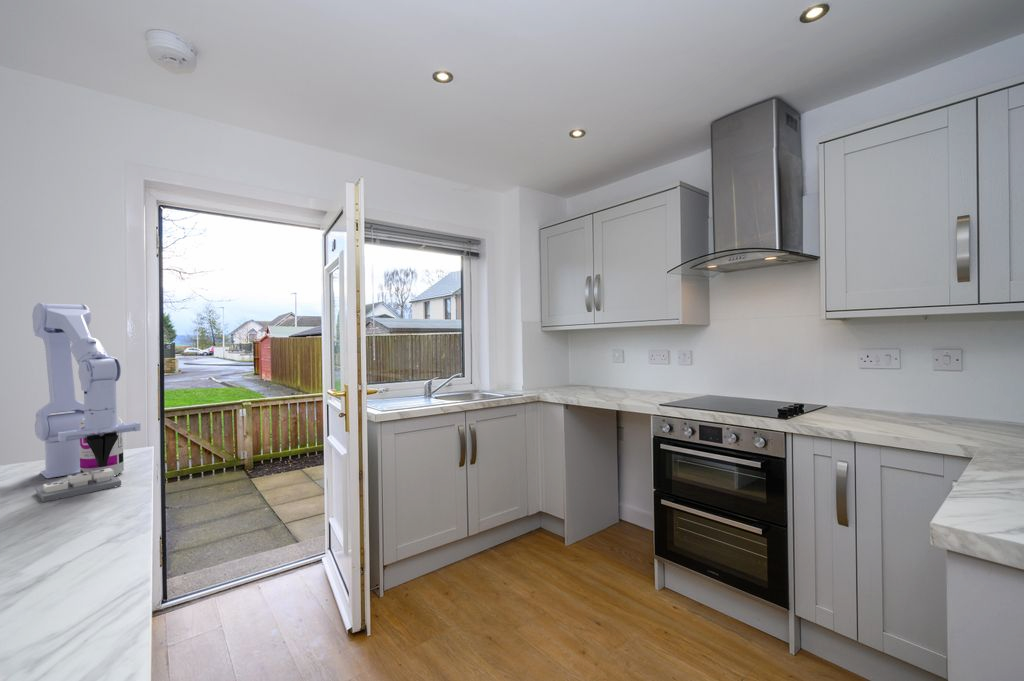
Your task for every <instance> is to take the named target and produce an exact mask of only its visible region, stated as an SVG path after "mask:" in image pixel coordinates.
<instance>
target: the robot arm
mask: <svg viewBox="0 0 1024 681" xmlns="http://www.w3.org/2000/svg"><path fill="white" fill-rule="evenodd" d="M91 316H92V314H91V309H90V308H89V307H88V305H86V304H83V303H81V304H71V303H70V304H67V303H66V304H65V303H43V302H37V303H36V304H35V305H34V307H33V310H32V316H31V317H32V318H31V319H32V325H33V326H32V330H33V333H34V336H35V337H37V338H40V339H42V340H43V343H44V347H45V348H44V349H45V350H44V351H45V358H46V360H45V361H46V371H47V379H48V380H47V382H48V393H49V395H48V396H49V402H48V403H47V404H44V406H42V407H41V408H39V409H38V410H37V411H36V412H35V422H34V432H35V435H36V438H37V439H39V440H40V441H43V442H44V457H45V458H44V460H45V462H44V463H45V464H44V465H45V466H44V468H45V469H42V470H40V471H39V473H40V474H41V475H42V476H43V477H45V478H46V479H52V478H56V477H57V478H59V477H63V476H68V475H74V474H79V473H80V445H79V439H80V438H85V441H86V442H87V443H88V445H89V446H90V448H91V450H92V452H93V454H94V456H95V458H96V462H97V466H98V467H104V466H107V462H108V458H109V455H110V452H111V450H112V448H113V446H114V444H115V442H116V441H117V439H118V435H117V433H123V434H125V433H130V432H140V431H141V428H142V427H141V422H130V423H129V422H128V423H123V424H117V415H118V412H117V382H118V381H119V380H120V378H121V372H122V367H121V364H120V361H119V359H118V358H117V357H113V355H109V354H108V352H107V350H106V349H105V347H104V346H103V345H102V343H101V341H100V340H99V339H97V338H96V337H92V335H91V333H90V330H89V325H90V323H91V319H92V317H91ZM71 343H72V344H71ZM72 355H73V356H72ZM72 357H74V359H75V361H76V363H77V365H78V372H77V373H78V378H79V381H80V389H81V391H83V402H81V401H79V400H77V399H76V391H75V381H74V370H73V368H74V367H73V361H72V360H73V358H72ZM83 418H85V428H83V429H79V425H80V423H81V422H82V419H83ZM110 431H113V432H110ZM103 432H106V433H103ZM92 433H99V434H92Z"/></svg>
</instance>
